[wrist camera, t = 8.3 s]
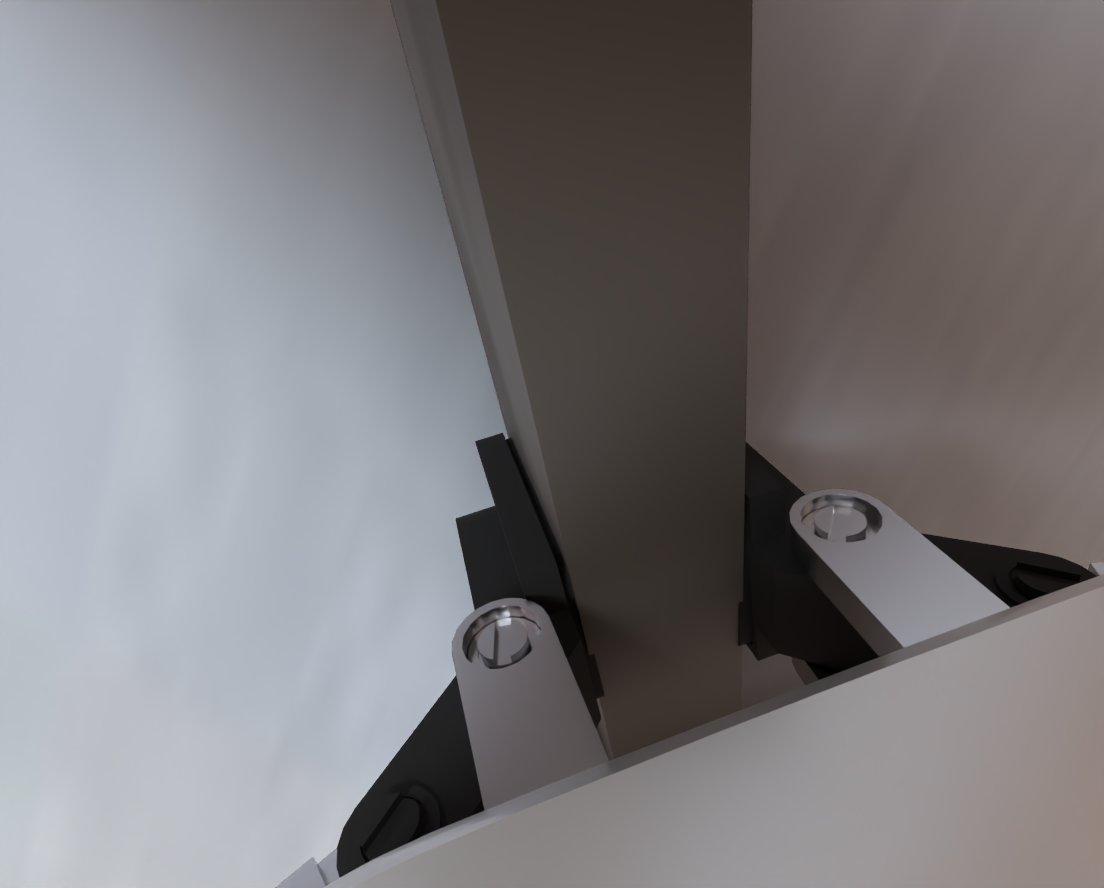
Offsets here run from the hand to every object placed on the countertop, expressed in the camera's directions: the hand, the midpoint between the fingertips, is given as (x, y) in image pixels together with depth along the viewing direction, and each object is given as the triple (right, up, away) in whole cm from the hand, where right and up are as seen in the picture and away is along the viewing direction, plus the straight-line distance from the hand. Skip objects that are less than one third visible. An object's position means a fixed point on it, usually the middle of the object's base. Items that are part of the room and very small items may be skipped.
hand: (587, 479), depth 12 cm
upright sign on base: (0, +1, +1) cm, 1 cm away
